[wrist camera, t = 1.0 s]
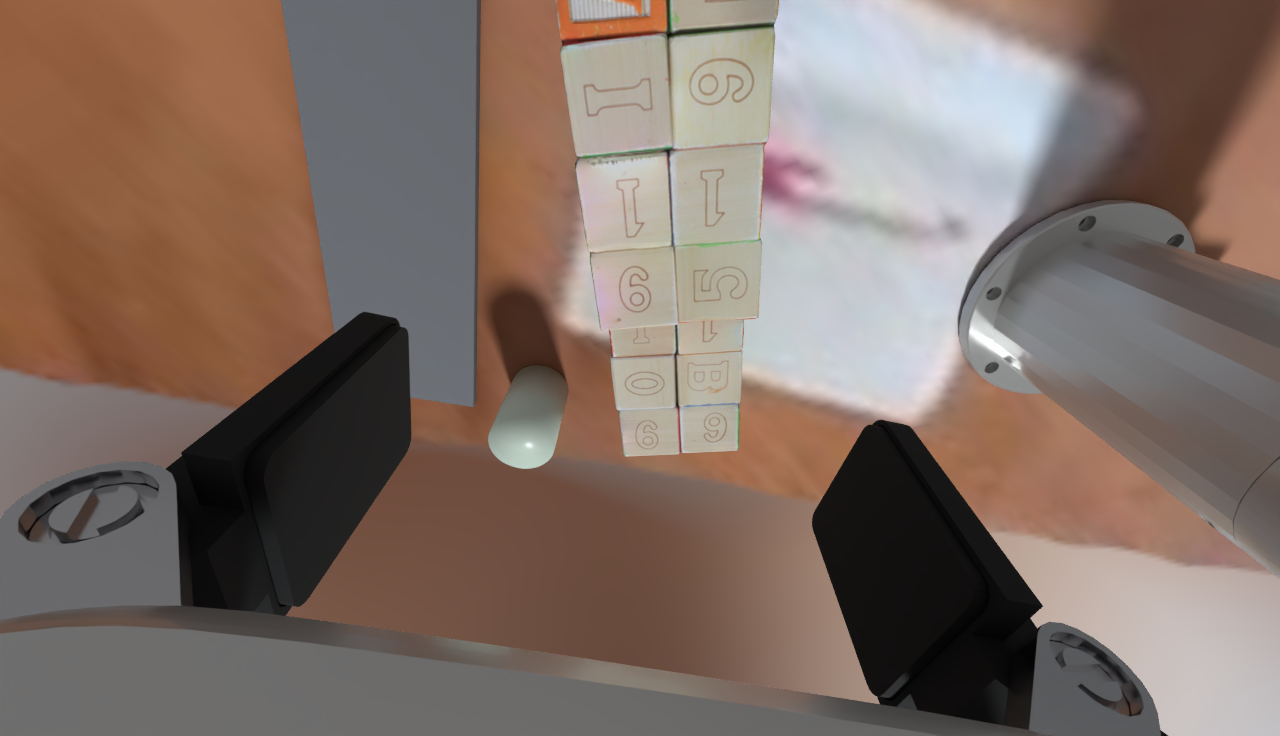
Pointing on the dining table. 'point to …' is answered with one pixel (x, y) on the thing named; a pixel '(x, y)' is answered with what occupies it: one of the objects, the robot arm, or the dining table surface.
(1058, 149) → the dining table surface
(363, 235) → the mat
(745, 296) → the stack of blocks
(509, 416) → the mint green capsule
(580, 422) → the dining table surface
